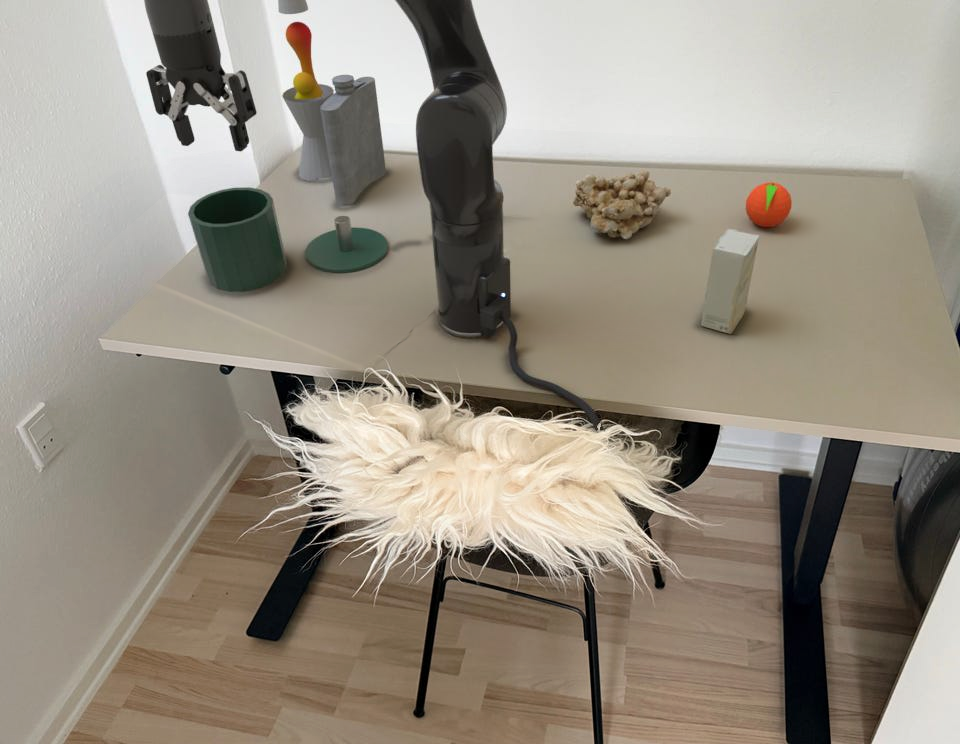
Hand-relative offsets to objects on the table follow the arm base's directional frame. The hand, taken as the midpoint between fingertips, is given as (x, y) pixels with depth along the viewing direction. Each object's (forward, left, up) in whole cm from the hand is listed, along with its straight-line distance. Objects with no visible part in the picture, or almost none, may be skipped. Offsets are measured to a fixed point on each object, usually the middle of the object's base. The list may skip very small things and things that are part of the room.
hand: (215, 146), depth 110 cm
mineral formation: (-44, -42, -21) cm, 64 cm away
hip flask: (+3, -31, -21) cm, 37 cm away
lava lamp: (+14, -33, -21) cm, 41 cm away
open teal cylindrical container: (0, 0, -21) cm, 21 cm away
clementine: (-64, -52, -21) cm, 85 cm away
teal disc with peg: (-10, -12, -20) cm, 25 cm away
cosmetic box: (-67, -24, -21) cm, 74 cm away
